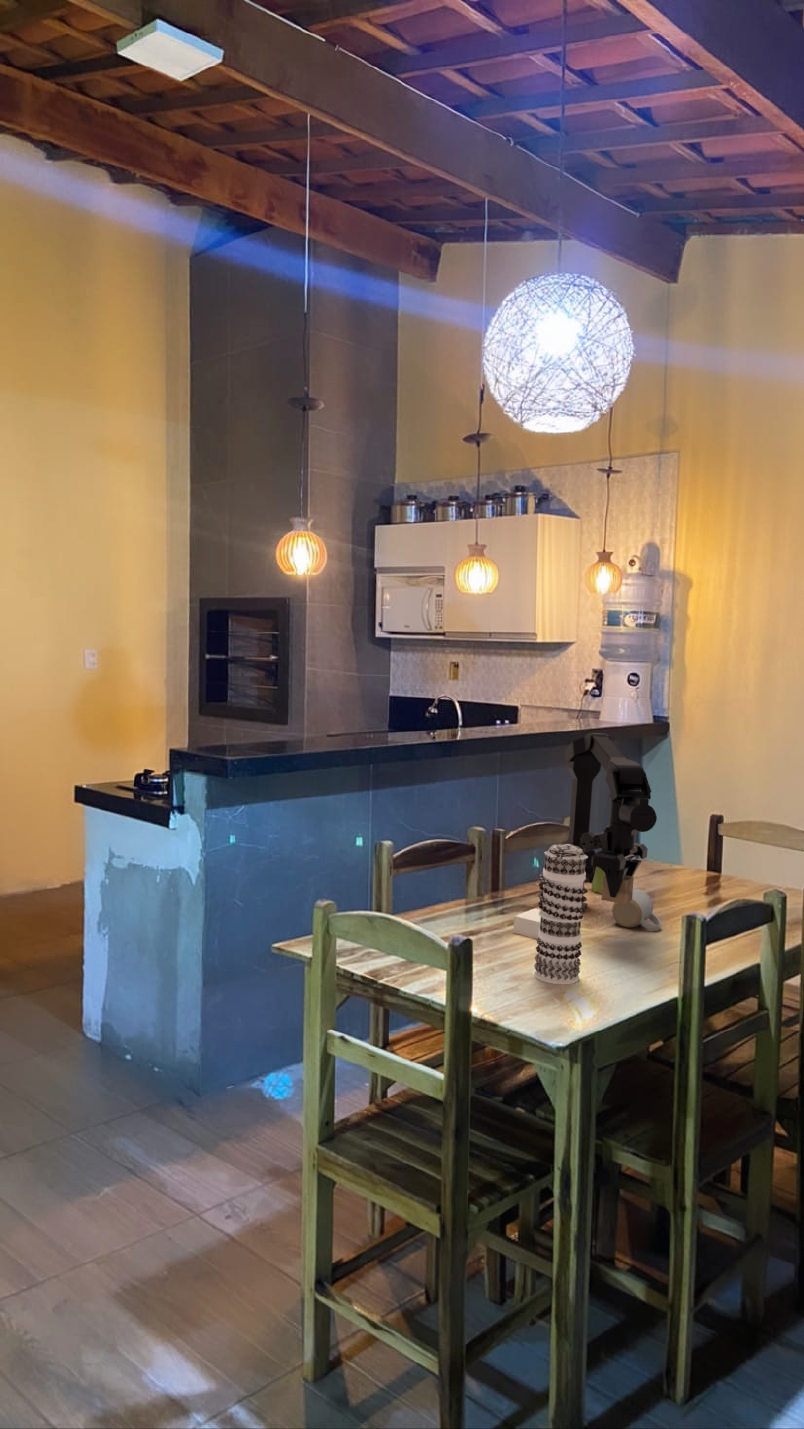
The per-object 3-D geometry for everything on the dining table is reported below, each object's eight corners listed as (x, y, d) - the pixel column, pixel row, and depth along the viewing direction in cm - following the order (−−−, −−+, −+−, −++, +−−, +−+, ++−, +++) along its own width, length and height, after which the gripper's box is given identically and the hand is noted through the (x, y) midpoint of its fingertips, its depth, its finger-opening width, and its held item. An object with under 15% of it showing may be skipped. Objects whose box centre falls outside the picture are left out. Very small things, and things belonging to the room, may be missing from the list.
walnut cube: (609, 895, 222) (611, 872, 221) (632, 899, 219) (633, 876, 219) (601, 899, 217) (603, 876, 217) (624, 904, 215) (626, 880, 214)
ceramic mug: (608, 925, 230) (611, 892, 230) (619, 917, 238) (622, 885, 237) (654, 935, 225) (658, 901, 225) (664, 927, 232) (668, 894, 232)
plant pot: (625, 897, 257) (628, 863, 256) (588, 895, 257) (591, 861, 257) (618, 888, 267) (621, 855, 266) (582, 886, 267) (585, 853, 266)
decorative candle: (543, 965, 199) (552, 839, 197) (588, 975, 194) (598, 846, 192) (524, 977, 191) (533, 846, 189) (570, 988, 186) (580, 854, 184)
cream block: (533, 925, 227) (535, 908, 227) (570, 935, 222) (571, 917, 222) (513, 934, 220) (514, 915, 220) (550, 943, 215) (551, 925, 215)
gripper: (602, 812, 229) (597, 880, 230) (570, 822, 213) (565, 896, 214) (650, 819, 223) (645, 889, 224) (621, 830, 207) (616, 905, 209)
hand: (617, 894), depth 218 cm, fingers closed on walnut cube, 5 cm apart
